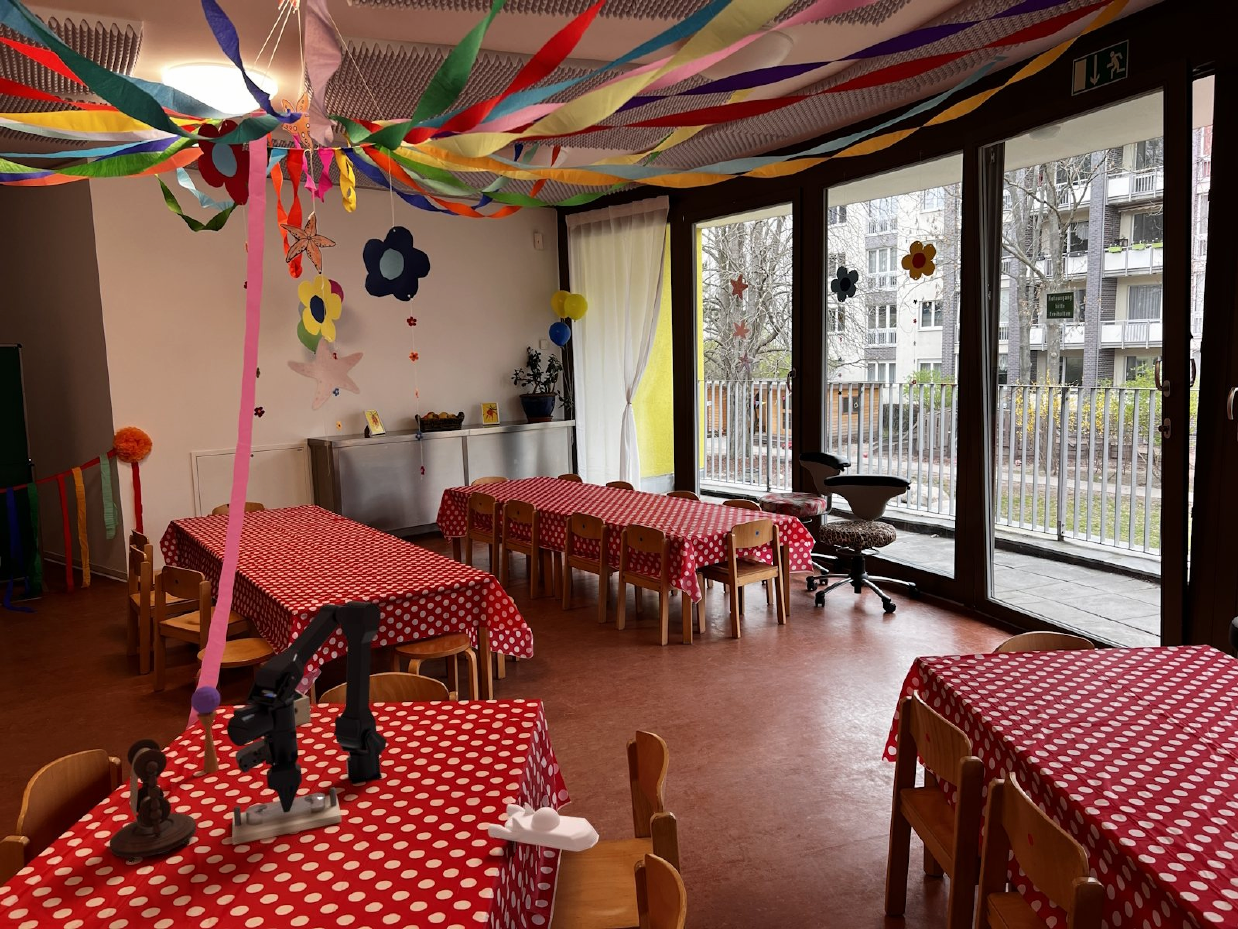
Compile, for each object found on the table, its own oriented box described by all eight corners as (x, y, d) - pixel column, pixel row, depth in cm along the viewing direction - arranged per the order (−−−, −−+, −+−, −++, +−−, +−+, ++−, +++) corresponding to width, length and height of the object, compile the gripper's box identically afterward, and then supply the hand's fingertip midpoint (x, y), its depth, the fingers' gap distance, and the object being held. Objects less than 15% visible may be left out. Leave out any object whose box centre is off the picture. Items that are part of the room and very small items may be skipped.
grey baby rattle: (325, 802, 184) (324, 791, 184) (326, 811, 180) (325, 799, 180) (246, 818, 178) (245, 807, 178) (246, 827, 175) (245, 815, 175)
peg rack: (336, 801, 188) (335, 778, 187) (341, 822, 179) (339, 798, 178) (233, 821, 180) (231, 798, 180) (232, 845, 171) (230, 820, 171)
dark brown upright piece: (105, 842, 174) (95, 743, 172) (187, 818, 183) (179, 723, 181) (117, 874, 162) (107, 768, 160) (204, 846, 171) (196, 746, 169)
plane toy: (587, 860, 162) (586, 829, 162) (488, 845, 168) (486, 816, 168) (606, 831, 172) (605, 802, 171) (511, 819, 178) (510, 791, 178)
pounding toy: (332, 715, 238) (330, 685, 237) (275, 738, 224) (272, 706, 223) (291, 703, 248) (288, 674, 247) (233, 724, 234) (231, 694, 233)
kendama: (201, 780, 200) (194, 693, 198) (194, 771, 205) (187, 687, 203) (229, 772, 204) (222, 687, 202) (221, 764, 208) (214, 680, 207)
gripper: (236, 718, 183) (242, 791, 185) (235, 752, 166) (242, 832, 168) (294, 708, 187) (299, 780, 189) (299, 740, 170) (304, 819, 172)
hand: (285, 802), depth 179 cm, fingers open, 9 cm apart
